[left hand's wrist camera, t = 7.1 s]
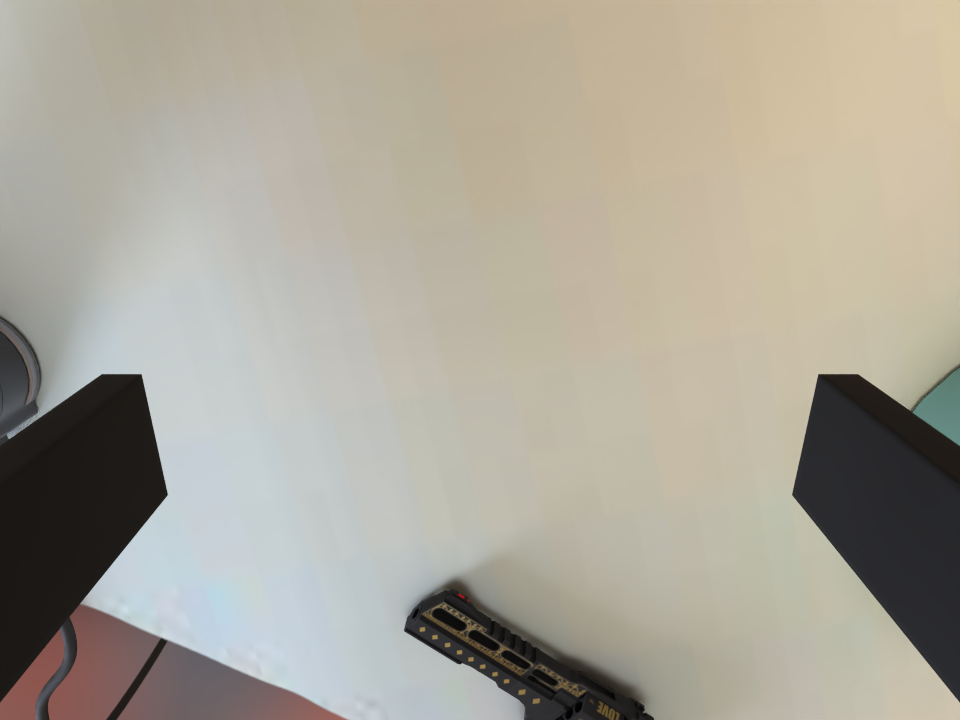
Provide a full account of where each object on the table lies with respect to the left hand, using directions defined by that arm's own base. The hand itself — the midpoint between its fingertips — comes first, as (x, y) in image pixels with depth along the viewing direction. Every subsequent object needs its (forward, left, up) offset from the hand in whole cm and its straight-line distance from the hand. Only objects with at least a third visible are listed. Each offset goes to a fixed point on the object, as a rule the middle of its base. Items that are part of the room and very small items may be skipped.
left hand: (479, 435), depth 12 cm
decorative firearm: (+46, +4, -33) cm, 57 cm away
